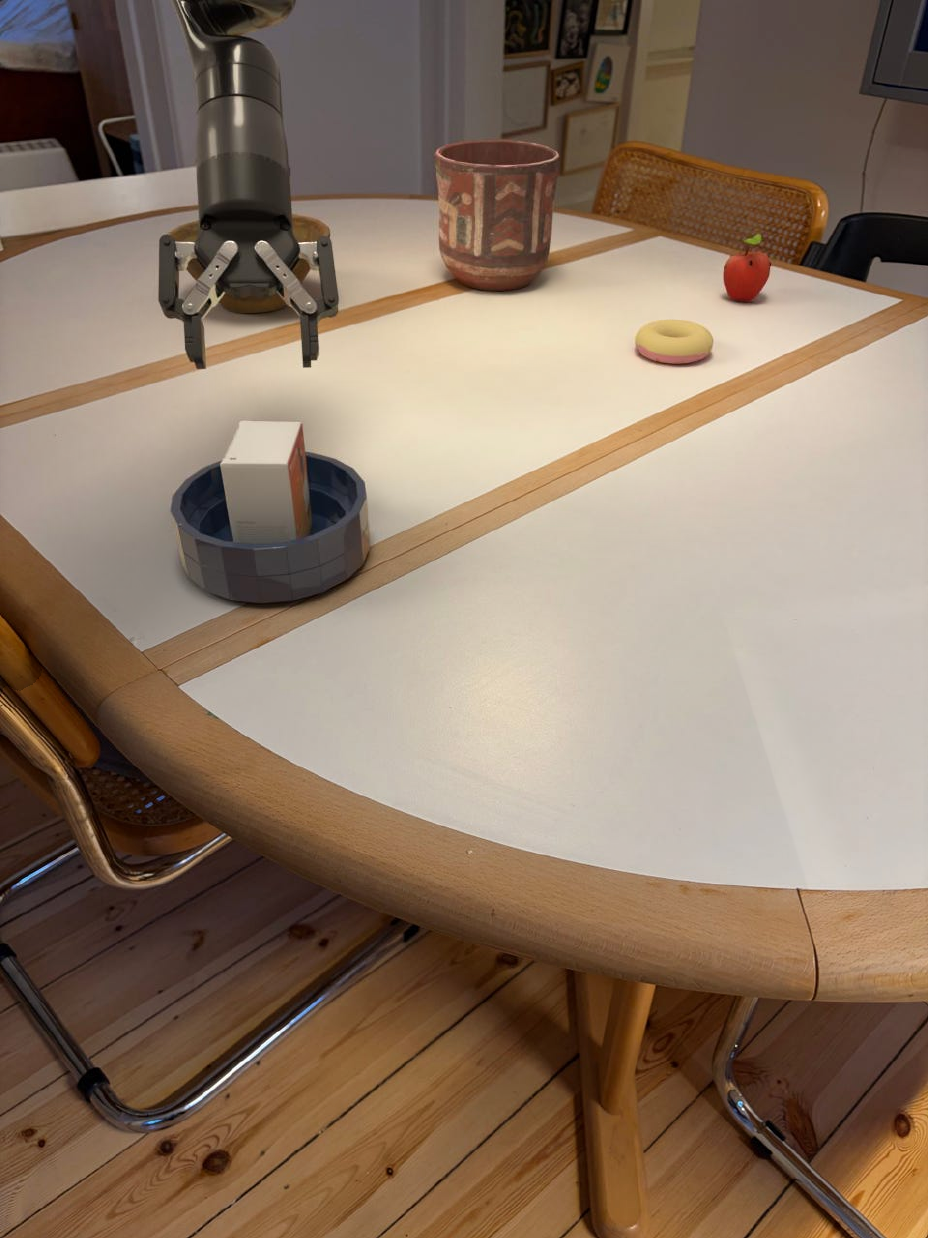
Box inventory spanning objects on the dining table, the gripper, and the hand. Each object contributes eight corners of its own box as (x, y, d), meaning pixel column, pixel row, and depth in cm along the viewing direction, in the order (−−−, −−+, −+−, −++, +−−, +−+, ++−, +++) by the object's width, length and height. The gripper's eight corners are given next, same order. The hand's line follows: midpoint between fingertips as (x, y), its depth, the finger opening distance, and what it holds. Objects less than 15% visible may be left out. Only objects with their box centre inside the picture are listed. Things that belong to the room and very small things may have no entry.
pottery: (490, 253, 155) (494, 133, 143) (573, 279, 145) (583, 152, 134) (412, 278, 144) (409, 150, 133) (496, 307, 135) (500, 172, 124)
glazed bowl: (175, 616, 77) (162, 556, 73) (190, 511, 90) (179, 456, 86) (376, 599, 79) (373, 540, 75) (362, 499, 92) (359, 444, 88)
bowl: (293, 268, 148) (287, 200, 142) (360, 312, 133) (356, 239, 126) (157, 292, 138) (144, 221, 132) (212, 342, 123) (200, 265, 117)
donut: (715, 378, 121) (688, 341, 127) (728, 346, 118) (701, 310, 124) (645, 373, 118) (622, 335, 124) (657, 340, 115) (633, 303, 121)
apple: (709, 293, 141) (721, 223, 134) (750, 289, 142) (763, 220, 136) (733, 310, 135) (747, 239, 129) (776, 307, 136) (791, 235, 130)
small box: (300, 572, 81) (288, 464, 75) (236, 571, 81) (218, 463, 75) (314, 523, 87) (303, 419, 81) (254, 522, 88) (239, 418, 81)
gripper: (145, 146, 72) (155, 350, 71) (330, 149, 75) (343, 347, 73) (161, 196, 80) (171, 382, 79) (329, 198, 82) (341, 379, 81)
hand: (254, 365), depth 76 cm, fingers open, 8 cm apart
